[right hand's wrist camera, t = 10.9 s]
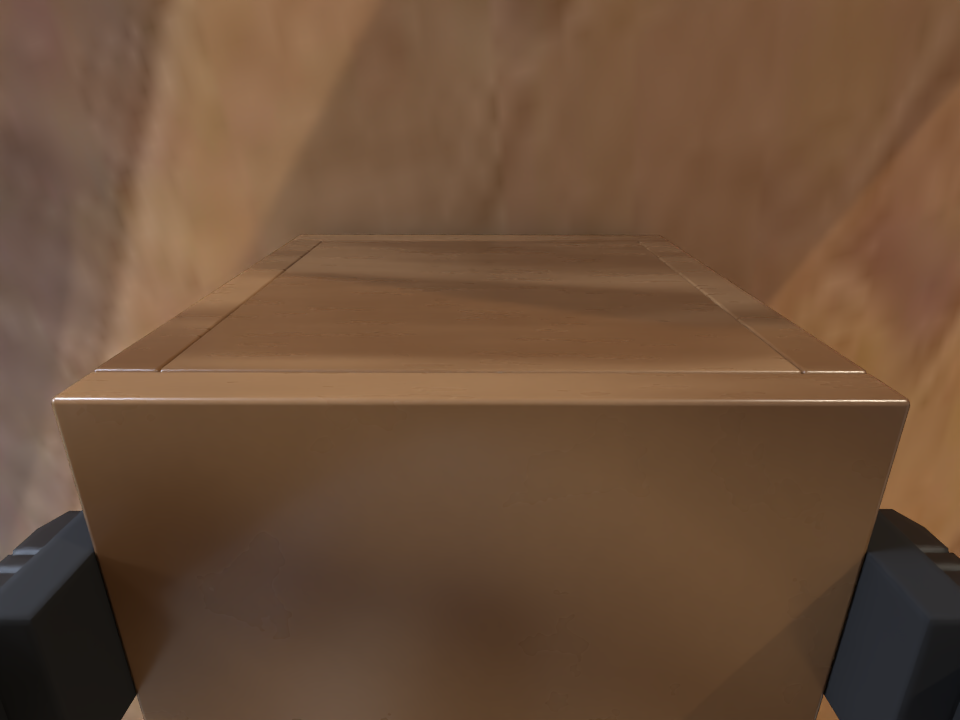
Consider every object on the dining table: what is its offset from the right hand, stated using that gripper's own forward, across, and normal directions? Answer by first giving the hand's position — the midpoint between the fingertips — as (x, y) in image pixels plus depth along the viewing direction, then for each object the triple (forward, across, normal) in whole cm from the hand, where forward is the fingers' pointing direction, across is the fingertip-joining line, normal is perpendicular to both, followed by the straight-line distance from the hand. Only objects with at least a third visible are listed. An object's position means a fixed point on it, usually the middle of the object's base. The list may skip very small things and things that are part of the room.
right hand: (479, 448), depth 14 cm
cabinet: (+6, 0, -7) cm, 9 cm away
